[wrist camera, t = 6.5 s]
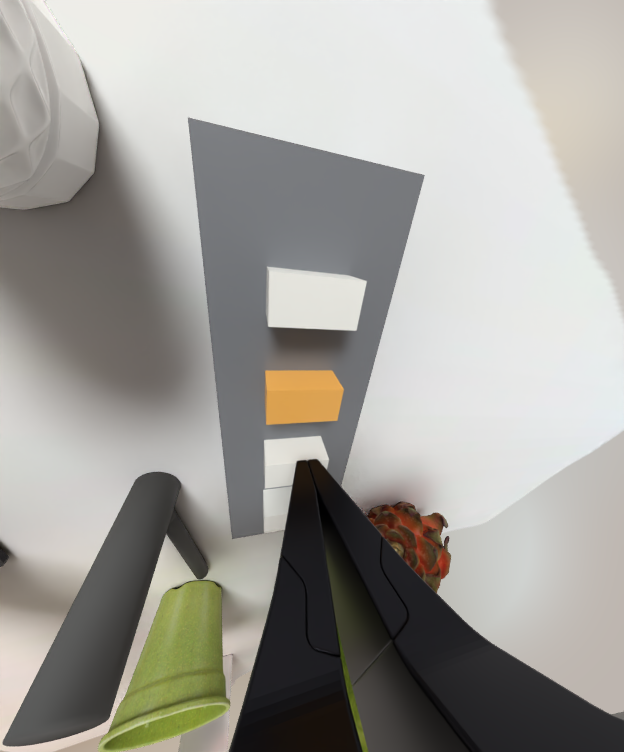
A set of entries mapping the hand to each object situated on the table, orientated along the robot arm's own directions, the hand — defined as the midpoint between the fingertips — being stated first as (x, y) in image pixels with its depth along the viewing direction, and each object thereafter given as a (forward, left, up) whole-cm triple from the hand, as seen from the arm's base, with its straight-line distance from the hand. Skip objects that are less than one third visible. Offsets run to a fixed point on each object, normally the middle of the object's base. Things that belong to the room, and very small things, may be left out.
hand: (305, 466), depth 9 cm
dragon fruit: (-18, -13, -7) cm, 23 cm away
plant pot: (-28, +9, -7) cm, 30 cm away
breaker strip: (0, 0, -7) cm, 7 cm away
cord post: (-9, +9, -7) cm, 14 cm away
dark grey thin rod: (-17, +8, -7) cm, 20 cm away
